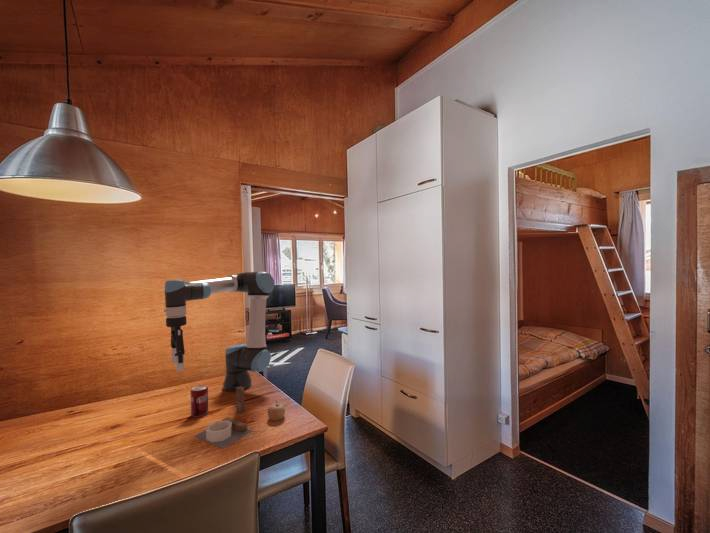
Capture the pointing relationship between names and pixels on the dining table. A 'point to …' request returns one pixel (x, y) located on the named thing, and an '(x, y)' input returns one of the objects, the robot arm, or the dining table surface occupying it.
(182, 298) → the robot arm
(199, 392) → the soda can
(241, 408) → the brown wooden bar
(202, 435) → the slate board
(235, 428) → the bar
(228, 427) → the white octagonal bowl
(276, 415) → the fruit
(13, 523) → the dining table surface
